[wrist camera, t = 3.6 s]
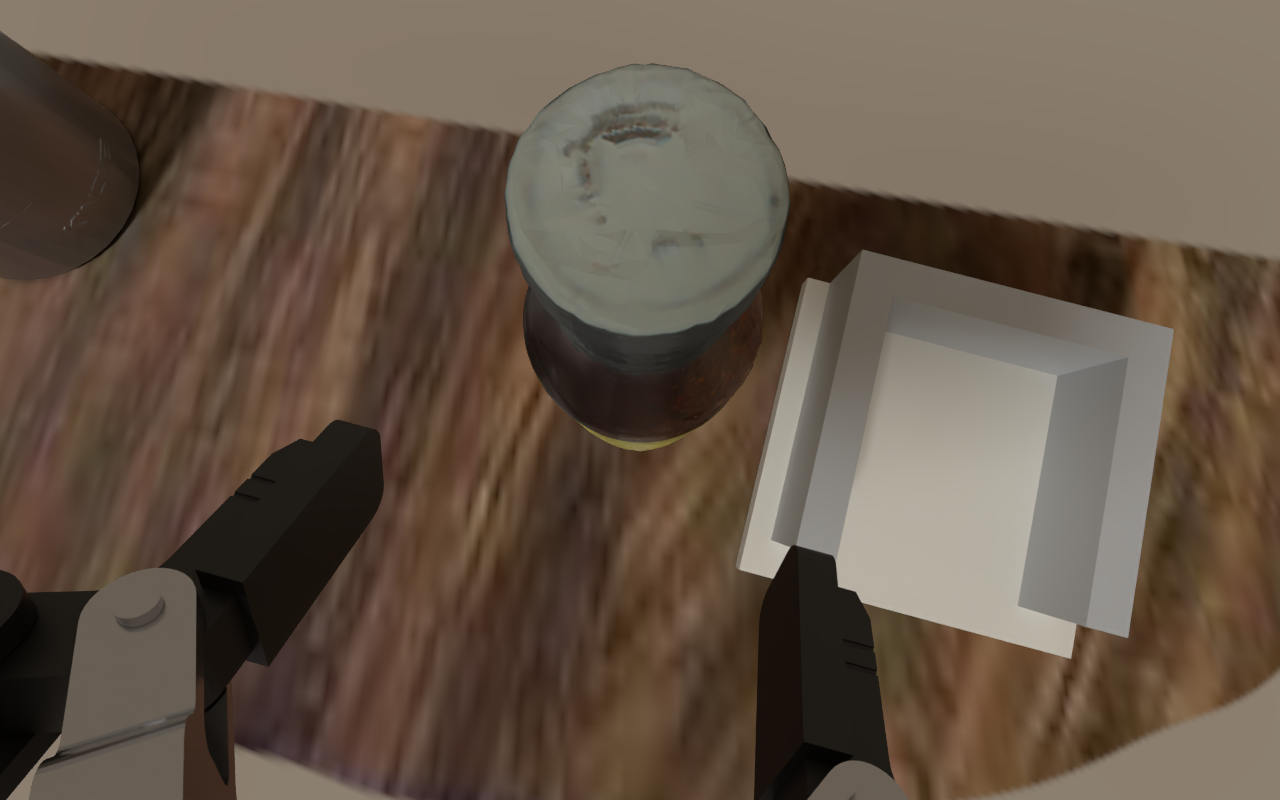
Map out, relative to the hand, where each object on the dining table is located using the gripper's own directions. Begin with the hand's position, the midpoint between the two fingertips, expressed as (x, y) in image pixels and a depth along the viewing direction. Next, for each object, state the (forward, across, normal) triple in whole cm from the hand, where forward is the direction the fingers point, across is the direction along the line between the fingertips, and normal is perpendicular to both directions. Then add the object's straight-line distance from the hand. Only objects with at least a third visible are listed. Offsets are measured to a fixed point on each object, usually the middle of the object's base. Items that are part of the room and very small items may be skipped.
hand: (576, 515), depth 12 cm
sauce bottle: (+15, 0, +8) cm, 17 cm away
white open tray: (+15, -13, +7) cm, 21 cm away
